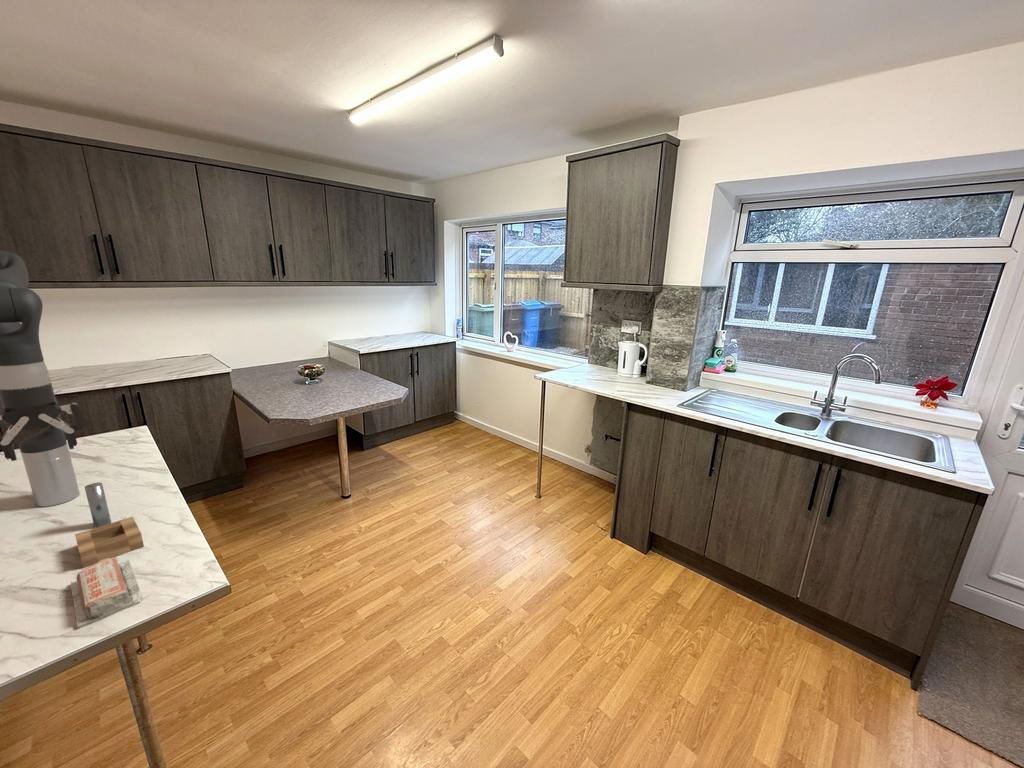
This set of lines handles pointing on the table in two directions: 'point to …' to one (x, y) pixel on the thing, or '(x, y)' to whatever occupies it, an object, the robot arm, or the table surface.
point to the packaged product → (104, 590)
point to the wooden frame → (108, 541)
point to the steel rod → (98, 504)
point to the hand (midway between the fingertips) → (43, 453)
